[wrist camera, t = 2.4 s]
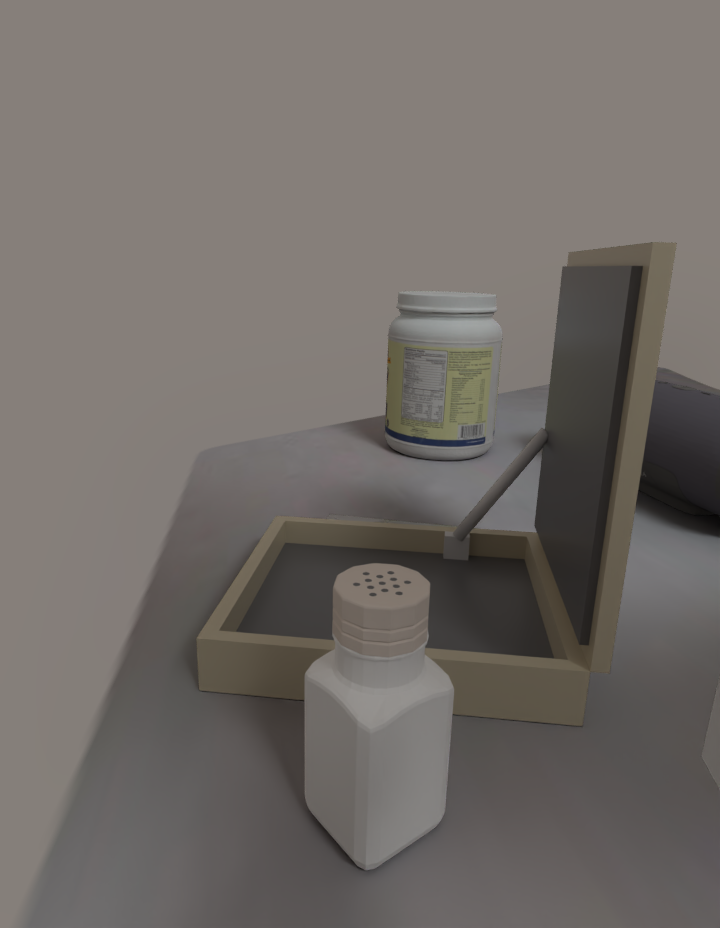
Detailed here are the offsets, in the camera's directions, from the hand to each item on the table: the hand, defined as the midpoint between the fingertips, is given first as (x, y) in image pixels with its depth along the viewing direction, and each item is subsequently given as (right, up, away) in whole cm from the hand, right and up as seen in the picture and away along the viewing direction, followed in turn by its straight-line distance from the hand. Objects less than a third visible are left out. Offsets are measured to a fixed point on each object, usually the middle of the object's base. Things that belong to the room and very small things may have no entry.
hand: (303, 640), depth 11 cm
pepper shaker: (+1, -10, +13) cm, 17 cm away
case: (+3, -6, +27) cm, 28 cm away
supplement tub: (+10, +4, +63) cm, 64 cm away
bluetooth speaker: (+29, 0, +49) cm, 57 cm away
